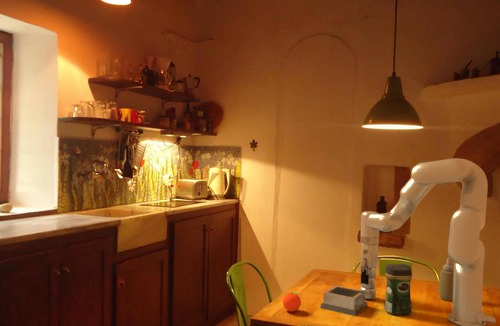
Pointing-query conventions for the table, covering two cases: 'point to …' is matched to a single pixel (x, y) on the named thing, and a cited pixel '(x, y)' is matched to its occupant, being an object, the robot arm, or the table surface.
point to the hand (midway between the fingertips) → (368, 281)
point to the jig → (344, 300)
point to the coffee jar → (398, 289)
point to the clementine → (291, 302)
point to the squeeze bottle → (446, 281)
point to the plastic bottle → (370, 284)
